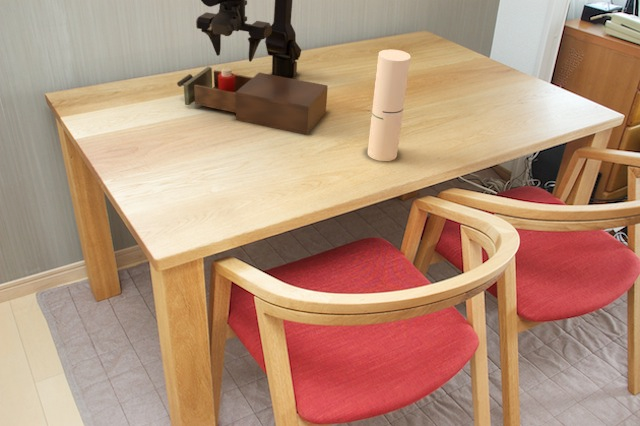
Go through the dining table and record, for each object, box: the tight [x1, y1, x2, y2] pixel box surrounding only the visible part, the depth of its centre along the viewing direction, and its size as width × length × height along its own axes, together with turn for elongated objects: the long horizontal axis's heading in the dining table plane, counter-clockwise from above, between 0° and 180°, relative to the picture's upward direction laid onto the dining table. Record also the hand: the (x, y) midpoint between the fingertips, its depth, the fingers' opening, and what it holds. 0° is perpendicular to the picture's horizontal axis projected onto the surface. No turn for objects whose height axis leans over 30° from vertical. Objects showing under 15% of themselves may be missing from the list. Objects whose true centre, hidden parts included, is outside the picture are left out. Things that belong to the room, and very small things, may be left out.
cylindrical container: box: [367, 49, 411, 162], centre depth 153 cm, size 7×7×25 cm
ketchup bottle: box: [218, 67, 235, 92], centre depth 175 cm, size 4×4×8 cm
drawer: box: [176, 66, 253, 114], centre depth 176 cm, size 23×14×6 cm, turn 71°
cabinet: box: [235, 72, 328, 136], centre depth 172 cm, size 20×15×8 cm
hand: (234, 58), depth 171 cm, fingers open, 9 cm apart
